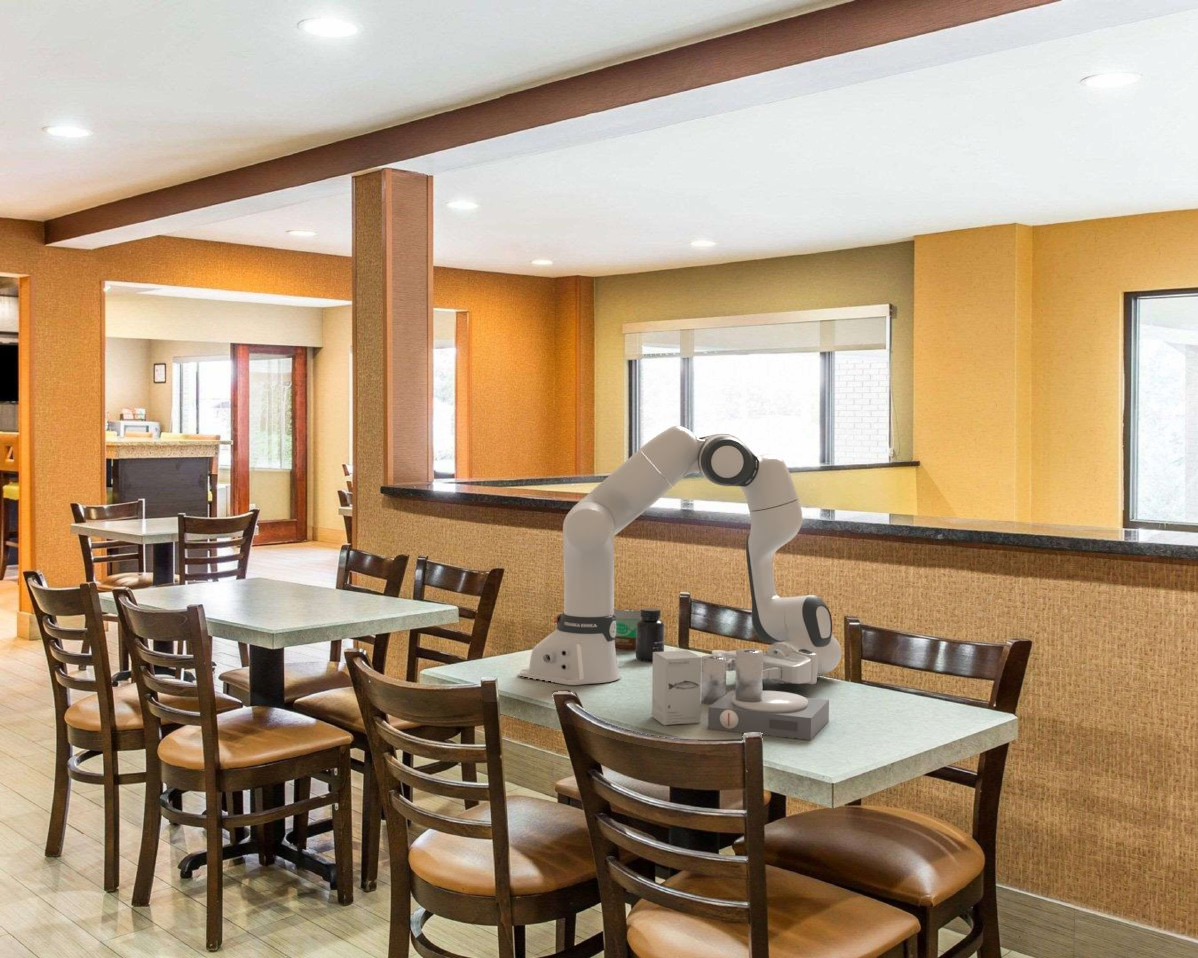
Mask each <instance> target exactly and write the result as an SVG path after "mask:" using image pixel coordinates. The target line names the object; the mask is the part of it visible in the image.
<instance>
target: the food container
mask: <svg viewBox="0 0 1198 958" xmlns="http://www.w3.org/2000/svg"><path fill="white" fill-rule="evenodd" d="M614 613H615V614H616V638H615V650H622V651H636V624H637V622H638V621H639V620H641V617H640V615H641V609H640V610H635V609H615V608H614Z"/></svg>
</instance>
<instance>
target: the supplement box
mask: <svg viewBox="0 0 1198 958" xmlns="http://www.w3.org/2000/svg"><path fill="white" fill-rule="evenodd" d="M701 657H702V656H700V655H698V654H696V653H694V652H691V651H690V650H671V651H664V652H653V661H652V678H651V679H652V681H651V682H652V684H651V685H652V688H651V690H652V691H651V700H652V701H651V703H652V704H651V716H652V718H654V719H655V720H656V721H658V722H659V723H660V724H661V725H663V726H664V727H665V726H668V725H686V724H700V723H701V707H702V706H701V703H702V702H701Z"/></svg>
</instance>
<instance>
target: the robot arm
mask: <svg viewBox="0 0 1198 958" xmlns="http://www.w3.org/2000/svg"><path fill="white" fill-rule="evenodd" d="M692 473H699V474H701V475H702V476H703V477H704V478H705V479H706V480H708V481H709V482H710V483H713V484H714V485H718V486H722V487H739V488H740V489H741V490H742V492H743V494H744V496H745V499H746V504H747V507H748V511H749V515H750V524H751V525H750V531H749V532H748V534H747V536H746V539H745V556H746V565H747V573H748V579H749V588H750V597H751V626H752V628H753V630H754V632H755V633H756V634H755V635H757V636H758V637H759V638H760V640H762V641H764V642H765V643H767V644H770V646H768V647H767V649H766V651H765V652H764V651H763V680H766V679H771V680H773V682H775V683H776V684H780V685H781V684H782V685H784V684H793V685H794V684H797V685H801V684H806V685H815V684H817V680H818V677H820V676H822V675H826V674H829V673H830V672H832V671H833V670H834V669H836V668H837V666H838V665H839V663H840V662H841V658H842V648H841V643H839V641H838V640H837V638H835V636H834V635H833V619H832V614H831V611H830V609H829V607H828V605H827V603H826V602H825V601H824V600H823V599H822V598H821V597H820V596H817V595H816V594H810V595H809V594H807V595H796V596H788V597H785V596H784V597H780V596H779V595H778V593H777V591H776V583H775V574H774V568H773V567H774V566H773V560H774V557H775V556H774V555H775V554H776V552H777V551H778V550H779V549H780V548H781V547H783V546H785V545H786V544H788V543H789V542H791V541H792V540H793V539H794V538H795V537H796V536H797V534H799V532H800V529H802V528H801V527H802V526H803V525H802V524H803V511H802V507H801V502H800V500H799V496H798V493H797V489H796V486H795V482H794V480H793V477H792V475H791V472H790V471H789V468H788V466H787V465H786V462H785V461H784V460H783V458H781V457H780V456H779V455H776V454H770V453H769V454H768V453H767V454H766V453H764V454H760V455H756V454H755V453H754V452H753V451H752V450H751V449H750V448H749V447H748V446H747V445H746V443H744V442H743V441H742V440H741V439H739V438H738V437H736V436H735V435H732V434H729V433H715V434H711V435H706V436H702V437H698V436H696V435H695V433H693V432H692V431H691V430H690V429H688V428H686V427H684V426H682V425H673V426H671V427H669V428H667V429H665V430H664V431H662V432H660V433H659V434H657V435H655V437H653V438H652V439H650V440H649V441H648V442H647V443H645V444H644V445H643V446H641V447H640V448H639V449H638V450H636V452H634V453H633V454H632V455H631V456H630V457H629V458H628V459H626V460H625V462H623V463H622V464H621V465H620V466H619V467H618V468H616V469H615V470H614V471H613V472H612V473H611V474H609V475H608V476H607V477H606V478H605V479H604V480H603V481H602V482H600V483H599V484H598V485H596V487H594V488H593V489H591V491H590V492H589V493H588V494H587V495H585V496H584V497H583V498H582V499H580V501H578V502H577V503H576V504H575V505H574V506H573V507H572V508H570V511H568V513H567V514H566V515H565V518H564V520H563V523H562V547H563V549H562V550H563V551H562V553H563V577H564V578H563V579H564V580H563V584H564V585H563V586H564V587H563V596H564V597H563V600H564V601H563V604H564V605H563V612H562V613H560V614H559V615H557V616H555V617H553V624H556V629H555V630H554V631H553V632H551V633H550V634H548V635H547V636H546V637H545V638H543V639H542V640H541V641H540V642H538V643H537V644H535V646H534V647H533V649H532V651H531V655H530V660H529V665H527V666H525V667H522V669H520V670H519V675H520V676H525V677H528V678H527V679H530V678H533V679H532V680H536V679H540V680H539V681H542V680H545V681H544V682H548V681H551V683H554V682H555V683H557V684H562V685H568V686H579V685H588V684H601V683H609V682H613V681H616V680H617V681H618V680H619V679H621V676H622V675H621V673H620V669H619V668H620V667H619V664H618V658H617V649H615V638H616V614H615V613H614V609H615V536H617V535H618V533H620V532H621V531H622V530H624V529H625V528H626V527H627V526H628V525H630V524H631V523H632V522H633V521H634V520H636V519H637V518H638V517H639V516H641V515H642V514H643V513H644V512H646V511H647V510H648V509H649V508H650V507H652V506H653V505H654V504H655V503H656V502H657V501H658V500H660V499H661V498H662V497H663V496H664V495H665V494H666V493H667V492H669V491H670V490H671V489H672V488H673V487H674V486H676V484H678V482H680V481H681V480H682V479H683V478H685V477H686V476H688V475H689V474H692ZM736 650H737V649H736ZM736 650H730V651H729V650H728V651H726V652H725V653H724V657H726V672H732V671H734V672H736ZM520 676H519V677H520Z"/></svg>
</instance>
